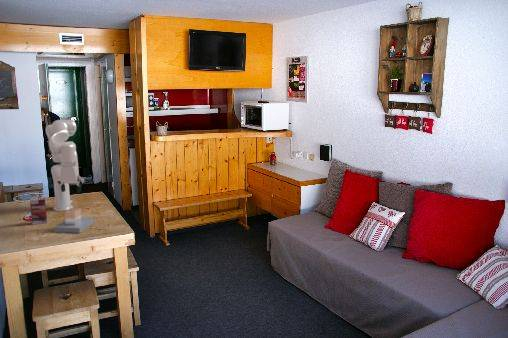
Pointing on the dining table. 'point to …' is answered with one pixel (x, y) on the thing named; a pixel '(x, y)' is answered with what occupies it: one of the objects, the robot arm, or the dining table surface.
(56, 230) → the stand
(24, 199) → the dining table surface
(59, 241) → the dining table surface
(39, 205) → the supplement box
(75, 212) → the block
